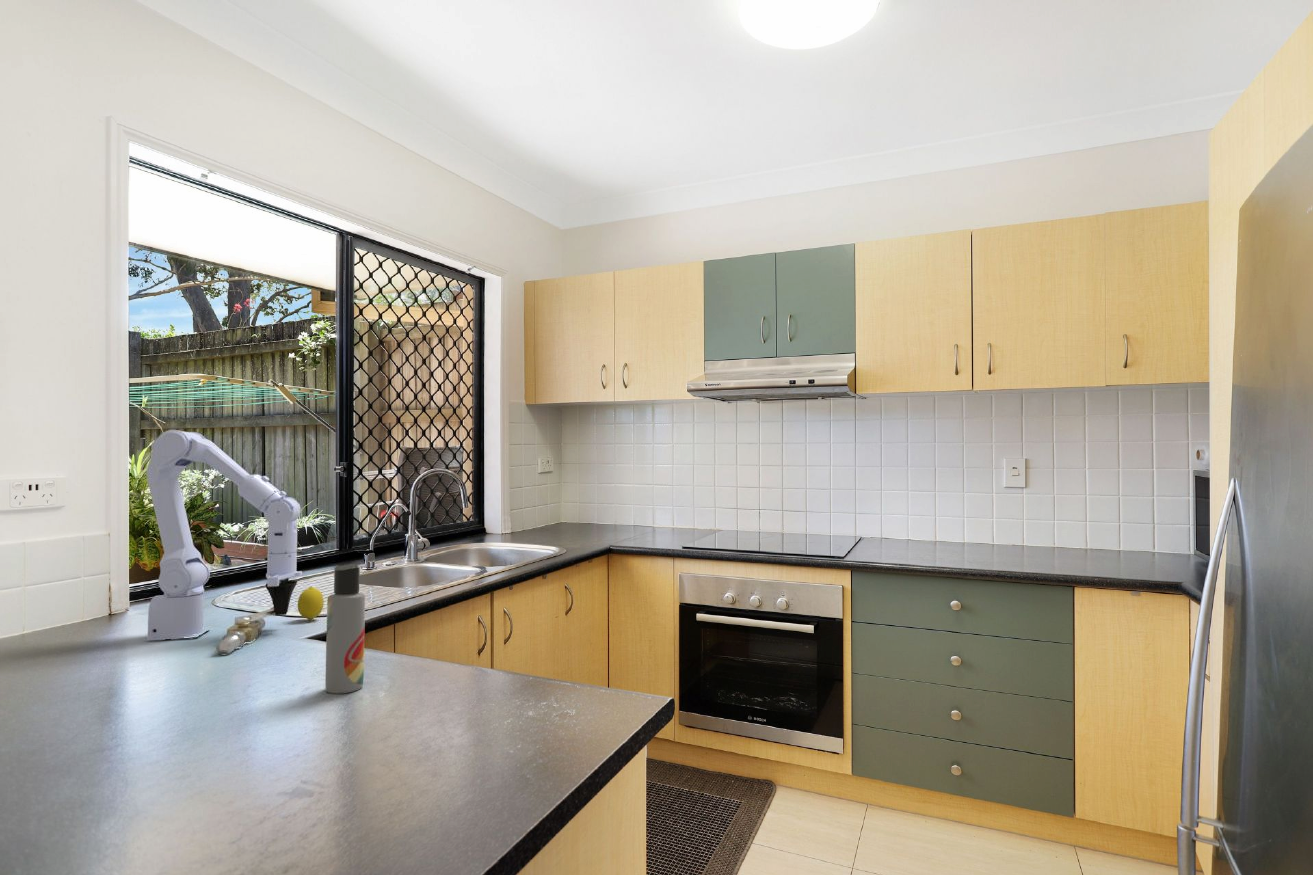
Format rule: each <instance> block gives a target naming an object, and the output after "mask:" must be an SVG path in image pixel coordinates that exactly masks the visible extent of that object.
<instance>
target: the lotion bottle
mask: <svg viewBox="0 0 1313 875" xmlns="http://www.w3.org/2000/svg"><path fill="white" fill-rule="evenodd" d="M333 573H334V576H333V578H334V579H333V593H332V594H330V595H328V596H327V602H326V603H327V607H326V641H325V645H326V647H325V677H324V678H325V691H326V692H327V693H329V694H336V695H337V694H347V693H352V692H356V691H358V690H360V689H362V688H363V686H364V676H365V674H364V671H365V669H364V668H365V635H366V634H365V629H366V627H365V626H366V624H365V622H366V620H365V619H366V595H365V593H363V592H360V578H361V577H360V576H361V575H360V567H358V564H356V563H349V564H344V565H339V566H335V567H334V572H333Z"/></svg>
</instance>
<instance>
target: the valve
mask: <svg viewBox="0 0 1313 875" xmlns="http://www.w3.org/2000/svg"><path fill="white" fill-rule="evenodd" d="M265 626H266V620H265V619H264V618H261V619H258V620H255V621H251V623H250V624H245V625H235V624H233V625H232V626H229V628H226V634H225V635H224V636H223V637H222V639H221V640H220V642H218V643H217V645H216V653H218V655H220V654H228V655H230V654H231V653H232V652H234V651H235V650H234V649H236V648H237V647H242V646H243V647H244V646H245V644H244V643H245V642H251V641H253V640H254V639H256V638H257V637H258V638H259V636H260V634H261V633H262V631H263V629H264V628H265ZM256 640H257V639H256ZM243 647H242V648H243ZM236 650H237V649H236Z"/></svg>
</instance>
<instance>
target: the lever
mask: <svg viewBox="0 0 1313 875" xmlns="http://www.w3.org/2000/svg"><path fill="white" fill-rule="evenodd" d="M288 612H289V610H288V611H287V613H288ZM271 616H276V615H275V612H274V607H273V606H272V607H270V608H269V609H266V610H263V611H258V612H255V613H252V614H248V615H242V616H237V617H235V618H234V625H245V624H250V623H251V621H255V620H258V619H261V618H263V619H264V618H268V617H271Z"/></svg>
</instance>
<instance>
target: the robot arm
mask: <svg viewBox="0 0 1313 875" xmlns="http://www.w3.org/2000/svg"><path fill="white" fill-rule="evenodd" d="M151 448H152V452H151V454H150V455H151V456H150V459H149V461H148V465H147V468H146V471H145V472H146V480H147V483H148V488H149V493H150V498H151V500H152V505H153V509H154V513H155V518H156V523H157V526H158V531H159V535H160V541H161V544H162V547H163V548H162V549H163V554H162V557H161V560H160V562H159V567H160V572H159V573H160V574H159V577H158V586H159V588H160V590H161V591H162V592H163V595H162V594H161V595H160V594H159V595H155V596H154V597H152V599H151V600H150V603H149V607H148V614H147V615H148V616H147V619H148V620H147V637H146V638H145V641H146V642H149V641H150V642H151V641H163V640H164V641H165V639H171V640H179V639H178V638H184V637H191V636H197V635H193V634H198V633H200V632H202V631H203V628H204V612H205V611H204V609H205V588H204V586H205V585H206V583H208V581H209V579H210V576H211V571H210V569H209V568H210V567H209V565H207V564H206V563H205V561H204V560H203V558H202V554H201V552H200V551H199V550H198V549H197V548H196V547H195V545H194V541H193V538H192V534H191V530H190V529H191V528H190V524H189V520H188V515H187V511H186V508H185V507H186V506H185V503H184V498H183V494H182V489H181V486H180V480H179V476H180V475H181V474H182V472H183V471H185V469H186V468H187V467H188V466H189V465H191V464H193V463H194V462H197V463H204V464H207V465H208V466H210V467H211V468H213V469H214V470H215V471H217V472H218V473H220V475H222V476H224V477H225V478H226V479H228V480H229V481H231V482H233V483H234V484H235V485H236V486H237V493H238V495H239V496H240V497H242V498H243V499H244V500H245V501H247V502H248V503H249V504H250V505H252V506H253V507H254V508H256V509H257V510H258V511H259V512H261V513H263V515H264V519H265V520H266V522H267V523H268V530H267V532H268V533H267V561H266V564H267V566H266V567H267V568H266V571H267V572H266V573H265V578H266V579H267V583H265V589H266V590H267V592H268V593H269V596H270V598H271V601H272V607H274V612H275V615H274V616H286V615H287V613H288V612H289V606H290V603H291V598H292V596H293V592H294V590H295V587H297V584H298V580H296V579H295V580H294V579H293V580H292V579H291V580H289V579H290V578H294V577H298V576H302V575H303V571H302V570H300V571H299V570H298V571H297V568H298V567H297V564H298V563H297V560H298V559H297V558H298V556H297V555H298V552H297V551H298V518H300V516H301V512H302V509H301V508H302V507H301V505H300V503H299V502H298V501H297V500H296V498H294V497H290V496H286V495H287V492H285V491H284V490H281V491H280V489H278V488H277V487H276V486H274V484H271V483H270V482H269V481H270V478H269V477H268V476H266V475H262V476H261V474H250V473H248V472H247V471H246V470H245V469H244V468H243V467H241V465H239V464H238V463H237V462H236V461H235V460H234V459H232V458H231V457H230V456H229V455H228V454H227V453H225V452H224V451H223V450H222V449H221V448H220V447H218V445H216V444H215V442H213V441H211V440H210V439H207V438H206V437H204V435H203V434H201V433H199V432H196V431H183V430H178V429H169V430H166V431H164V432H162V433H161V434H160V435H159V436H157V438H156V439H155V440H154V441H153V442H152V443H151ZM287 611H288V612H287Z"/></svg>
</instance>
